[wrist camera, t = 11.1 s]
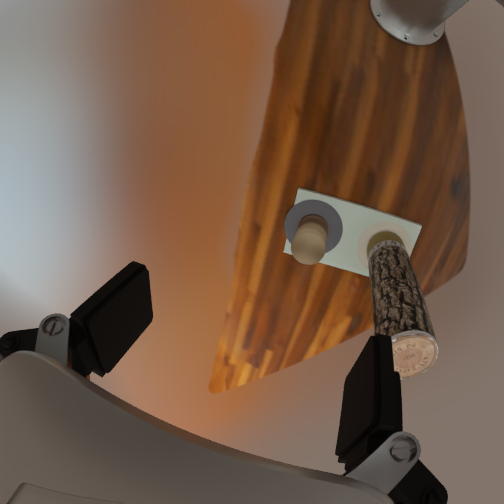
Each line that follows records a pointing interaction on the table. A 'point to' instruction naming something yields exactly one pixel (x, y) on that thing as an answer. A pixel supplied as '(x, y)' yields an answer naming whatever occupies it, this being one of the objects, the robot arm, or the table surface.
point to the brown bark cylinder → (400, 305)
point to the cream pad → (375, 230)
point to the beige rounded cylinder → (310, 239)
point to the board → (341, 226)
